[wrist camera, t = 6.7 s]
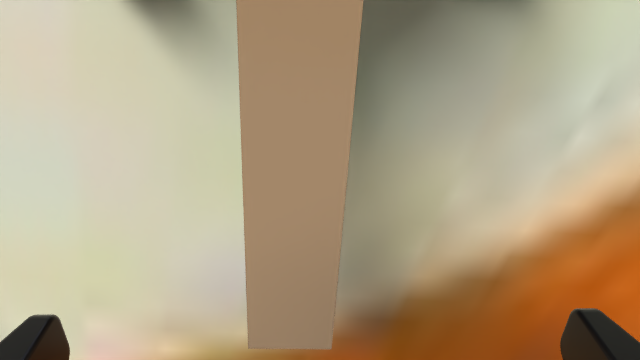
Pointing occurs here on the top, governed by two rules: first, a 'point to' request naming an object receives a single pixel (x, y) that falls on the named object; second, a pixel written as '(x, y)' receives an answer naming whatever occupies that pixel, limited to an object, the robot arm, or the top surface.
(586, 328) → the robot arm
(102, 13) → the top surface
